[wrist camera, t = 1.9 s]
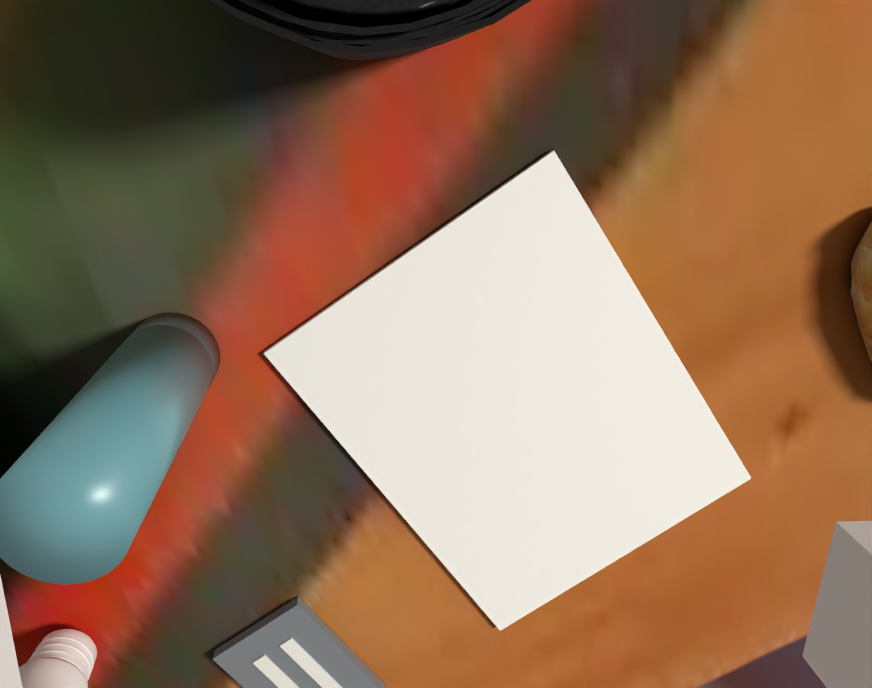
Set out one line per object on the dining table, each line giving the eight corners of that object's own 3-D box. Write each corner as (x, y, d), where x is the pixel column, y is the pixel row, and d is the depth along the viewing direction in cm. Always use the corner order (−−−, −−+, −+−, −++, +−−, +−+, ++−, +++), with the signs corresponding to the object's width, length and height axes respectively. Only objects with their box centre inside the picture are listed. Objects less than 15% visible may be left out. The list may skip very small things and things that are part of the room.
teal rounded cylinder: (109, 345, 29) (-50, 514, 18) (178, 295, 29) (59, 436, 18) (170, 411, 31) (57, 607, 19) (238, 363, 30) (162, 535, 19)
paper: (264, 351, 30) (263, 353, 30) (551, 149, 28) (554, 150, 28) (498, 626, 36) (499, 630, 36) (748, 475, 34) (751, 478, 34)
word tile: (214, 649, 35) (211, 660, 34) (298, 596, 34) (296, 606, 34) (305, 734, 37) (304, 746, 37) (385, 685, 37) (386, 696, 36)
